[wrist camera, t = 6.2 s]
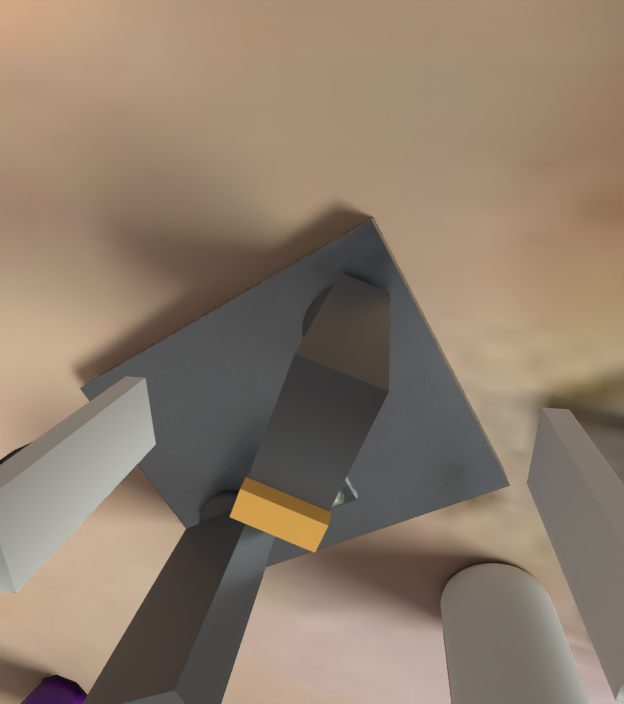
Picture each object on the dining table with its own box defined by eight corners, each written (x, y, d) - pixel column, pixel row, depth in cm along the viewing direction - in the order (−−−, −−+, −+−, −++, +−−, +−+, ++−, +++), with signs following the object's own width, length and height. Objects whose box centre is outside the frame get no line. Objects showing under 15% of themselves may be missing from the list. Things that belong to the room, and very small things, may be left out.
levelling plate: (373, 216, 25) (369, 222, 22) (502, 466, 29) (517, 505, 26) (97, 376, 32) (61, 400, 28) (234, 560, 36) (217, 600, 33)
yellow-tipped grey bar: (325, 262, 24) (255, 347, 12) (407, 295, 24) (424, 415, 12) (290, 356, 27) (200, 510, 14) (364, 386, 27) (340, 568, 14)
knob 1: (251, 480, 30) (153, 689, 18) (287, 532, 32) (219, 764, 19) (184, 508, 32) (53, 715, 20) (220, 556, 33) (118, 781, 21)
